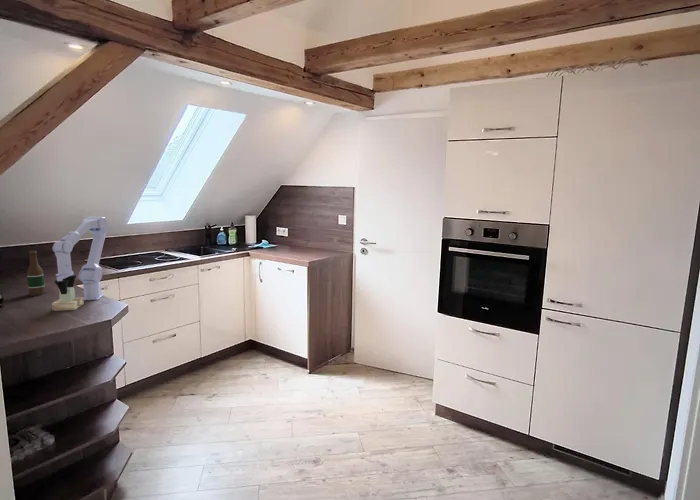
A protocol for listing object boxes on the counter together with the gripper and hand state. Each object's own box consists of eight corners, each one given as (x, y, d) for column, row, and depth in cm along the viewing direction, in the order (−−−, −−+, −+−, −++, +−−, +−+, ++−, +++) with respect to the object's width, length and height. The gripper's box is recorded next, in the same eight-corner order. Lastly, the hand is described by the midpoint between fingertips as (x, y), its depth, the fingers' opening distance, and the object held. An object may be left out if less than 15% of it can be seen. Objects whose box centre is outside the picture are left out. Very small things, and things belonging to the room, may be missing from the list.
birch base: (62, 305, 221) (61, 297, 220) (83, 304, 223) (83, 297, 222) (52, 311, 211) (51, 303, 211) (75, 310, 213) (74, 302, 212)
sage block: (64, 299, 218) (63, 287, 217) (75, 298, 219) (74, 287, 218) (60, 301, 213) (58, 290, 212) (71, 301, 214) (70, 289, 213)
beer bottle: (33, 292, 242) (28, 250, 238) (48, 292, 244) (44, 249, 240) (25, 296, 235) (20, 252, 231) (42, 295, 236) (37, 252, 232)
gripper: (61, 262, 219) (64, 288, 222) (48, 268, 205) (51, 296, 208) (77, 262, 221) (79, 288, 223) (65, 268, 207) (68, 295, 209)
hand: (67, 292), depth 216 cm, fingers open, 7 cm apart
